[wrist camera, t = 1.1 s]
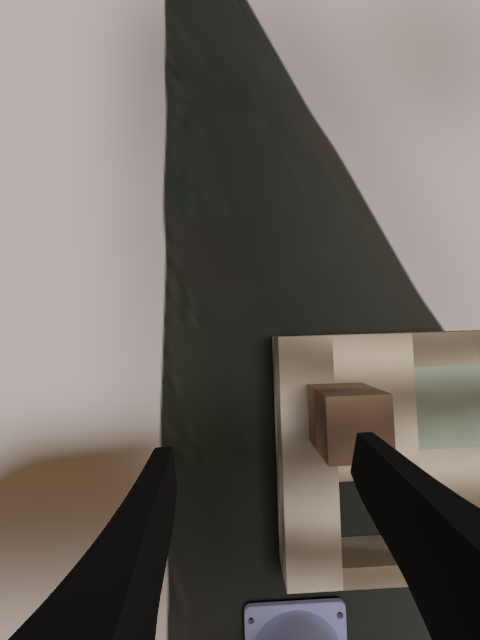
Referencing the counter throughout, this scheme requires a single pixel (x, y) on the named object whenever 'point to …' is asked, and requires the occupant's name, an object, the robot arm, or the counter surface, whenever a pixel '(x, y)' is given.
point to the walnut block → (347, 418)
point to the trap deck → (410, 440)
